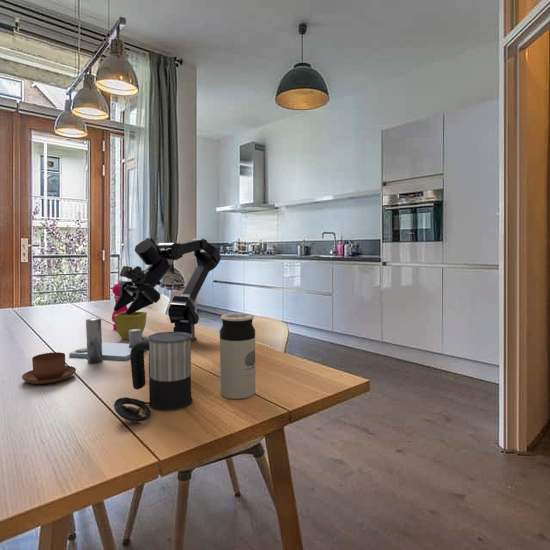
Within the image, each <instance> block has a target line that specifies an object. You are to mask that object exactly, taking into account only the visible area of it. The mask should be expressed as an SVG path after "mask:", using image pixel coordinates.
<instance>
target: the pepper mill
mask: <svg viewBox="0 0 550 550" xmlns="http://www.w3.org/2000/svg"><path fill="white" fill-rule="evenodd" d="M122 281H123V280H122V279H118V280H117V283H116V284H114V285H113V287H112V290H111V291H112V293H113V294H114V296H113V300H114V301H115V305H116V303H117V301H118V298H119V296H120V289H119V284H120V283H121V282H122ZM115 305H114V306H115ZM128 308H129V307H128V306H127V305H126V306H124V307H123V308H121V309H120V310H118V311H115V310H114V309H113V312H112V315H111V321H112V323H114V324H113V325H112V329H113V330H114V329H115V331H117V329H116V324H115V318H114V315H116V314H119V313H122V312H126V311H127V309H128Z"/></svg>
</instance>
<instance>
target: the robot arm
mask: <svg viewBox="0 0 550 550" xmlns="http://www.w3.org/2000/svg"><path fill="white" fill-rule="evenodd" d="M134 252H135V253H136V255H137V256H138V257H139V258H140V259H141V261H142V262H143V263H144V264H145V265H147V267H146V269H142V266H139V265H133V267H132V266H128V265H123V266H122V268H121V271H120V272H119V276H120V277H123V278H126V279H129V280H130V281H129V280H122V282H121V283H120V284H119V289H120V296H119V298H118V301H117V303H116V305H114V308H113V311H114V310H115V311H118V310H120V309H121V308H123V307H124V306H126V305H129V304H130V306H128V307H127V308H128V309H127V311H126V314H127V315H130V314H132V313H134V312H139V310H142V309H143V308H147V307H148V306H150V305H154V303H155V304H158V301H160V299H161V293H160V292H159V291H158V290H157V289H156V288H155V287H157V286H160V285H161V284H162V282H161V280H162V279H164V277H165V276H166V274H167V273H172V274H174V273H175V265H174V264H172V263H170V261H178V260H179V259H182V258H183V256H184V255H185V254H189V253H192V252H193V255H194V257H195V258H196V259H195V260H196V267H195V269H194V271H193V273H192V274H191V277H190V279H189V280H188V283H187V284H186V286H185V288H184V290H183V292H182V293H181V295H174V296H173V298H172V300H171V301H170V303H169V306H168V309H167V313H168V317H169V320H170V324H174V327H173V329H172V330H173V332H186V333H190V334H192V337H191V342H193V341H195V340H196V339H197V338H198V337H197V336H196V334H195V332H196V331H195V330H196V329H195V325H197V324H198V323H199V318H200V316H199V314H198V313H197V312H196V311H195V310H196V304H195V301H196V298H197V297H198V294H199V293H200V291H201V289H202V286H203V285H204V283H205V281H206V278H207V277H208V275H209V272H211V271H213V270H214V269H215V268H217V266H218V265H219V264H220V261H221V256H222V255H221V253H220V252H219V251H218V249H217V248H216V247H215V245H212V244H211V243H209V242H208V241H207V239H206V238H193V239H190V240H185V241H182V242H159V243H158V244H156V242H155V240H154V238H152V237H146V238H145V239H144V240H142V241H141V242H139V243H138V244H136V245H135V247H134Z"/></svg>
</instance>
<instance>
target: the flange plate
mask: <svg viewBox="0 0 550 550" xmlns="http://www.w3.org/2000/svg"><path fill="white" fill-rule="evenodd" d="M140 341H143V332H142V330H141V329H133V330H129V339H128V343H121V342H119V343H118V342H103V341H102V359H103V360H111V361H112V360H114V361H127V360H129V359H130V360H131V358H130V353H131V349H132V348H133V346H134V345H135V344H137V343H138V342H140ZM145 351H147V350H145ZM145 351H144V352H145ZM68 356H69V357H70V358H81V359H82V358H83V359H87V346H84V347H82V348H79V349H76V350H74V351H71V352H69V355H68Z"/></svg>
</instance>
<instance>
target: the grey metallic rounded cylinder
mask: <svg viewBox="0 0 550 550" xmlns="http://www.w3.org/2000/svg"><path fill="white" fill-rule="evenodd" d="M85 327H86V328H85V329H86V331H85V332H86V334H85V335H86V347H87V358H86V359H87V364H90V365H95V364H100V363H102V362H103V360H104V359H102V342H103V338H102V335H103V333H102V318H100V317H96V318H95V317H94V318H86V319H85Z"/></svg>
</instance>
